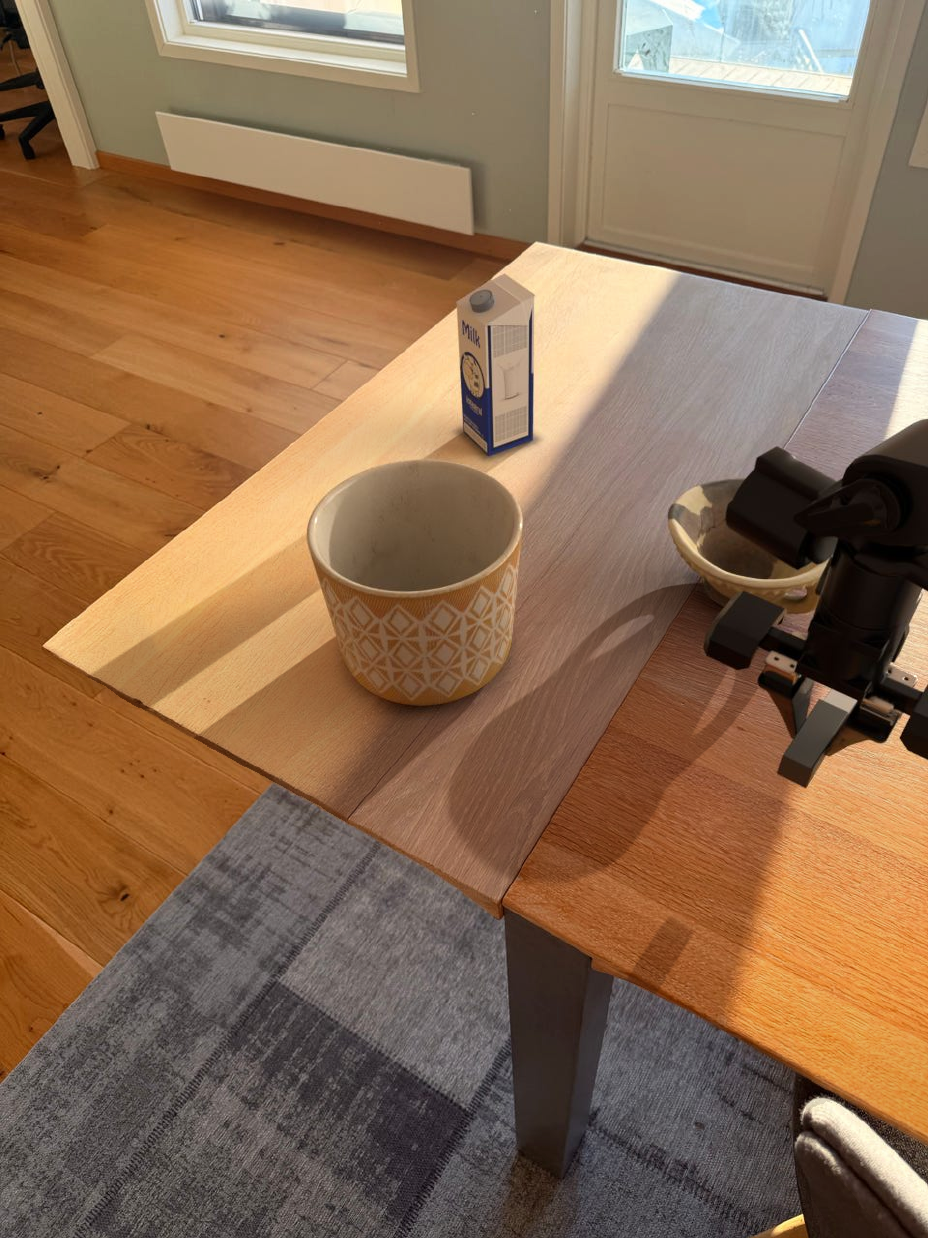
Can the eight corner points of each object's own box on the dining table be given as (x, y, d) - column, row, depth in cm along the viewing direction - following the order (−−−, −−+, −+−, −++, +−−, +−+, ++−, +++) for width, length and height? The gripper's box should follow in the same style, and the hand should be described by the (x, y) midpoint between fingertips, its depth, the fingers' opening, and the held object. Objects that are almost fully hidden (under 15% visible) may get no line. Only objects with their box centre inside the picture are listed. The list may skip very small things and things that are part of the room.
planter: (309, 710, 87) (277, 585, 76) (359, 576, 101) (339, 452, 89) (508, 732, 84) (506, 605, 73) (532, 591, 98) (534, 465, 86)
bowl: (863, 591, 96) (889, 520, 89) (761, 680, 88) (781, 609, 81) (725, 517, 105) (739, 448, 99) (622, 591, 97) (630, 521, 90)
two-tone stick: (805, 789, 69) (813, 770, 68) (776, 773, 71) (782, 755, 69) (885, 656, 79) (894, 637, 77) (858, 645, 80) (866, 625, 78)
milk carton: (534, 440, 118) (535, 293, 104) (489, 456, 116) (484, 308, 102) (505, 415, 123) (503, 271, 108) (462, 430, 120) (454, 285, 106)
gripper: (1050, 588, 60) (968, 733, 71) (784, 491, 69) (747, 634, 80) (1001, 691, 54) (920, 833, 65) (716, 571, 63) (686, 714, 74)
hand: (812, 743), depth 71 cm, fingers closed on two-tone stick, 2 cm apart
